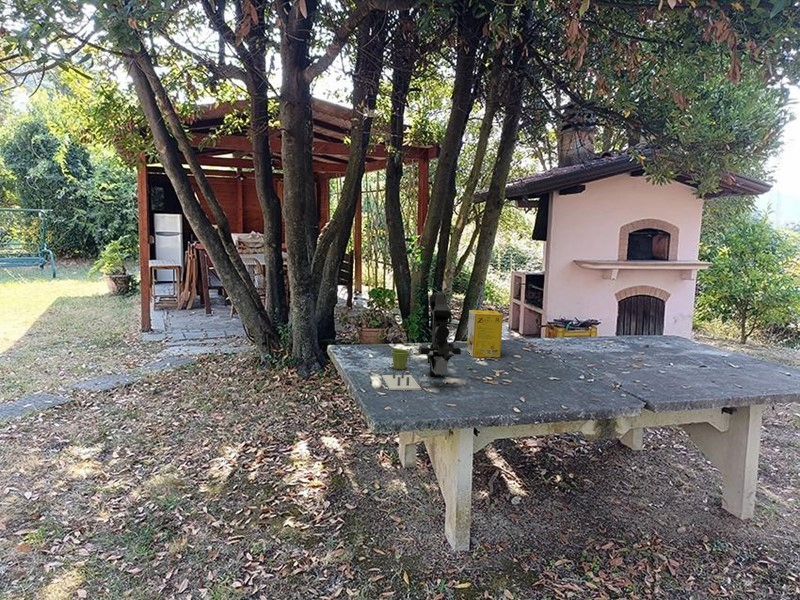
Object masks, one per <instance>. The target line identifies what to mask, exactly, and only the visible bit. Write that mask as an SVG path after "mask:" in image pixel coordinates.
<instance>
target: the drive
mask: <svg viewBox="0 0 800 600" xmlns="http://www.w3.org/2000/svg"><path fill="white" fill-rule="evenodd" d="M431 370H432V371H433V372H434V373H435V374H442V375H447V373H448V371H447V370H448V363H447V361H446V360H445V359H444V358H443V357H434V369H432V366H431Z"/></svg>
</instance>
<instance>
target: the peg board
mask: <svg viewBox="0 0 800 600" xmlns="http://www.w3.org/2000/svg"><path fill="white" fill-rule="evenodd" d="M396 371H397V370H396V369H394V370H392V374H382V375H381V379H382V378H383V379H382V380H383V382H384V381H385V382H384V384H385V383H386V384H385V386H386V387H387V386H388V387H387V389H388V388H389V389H388V390H389V391H390V390H403V392H404V391H405V390H406V391H407V390H412V391H422V387H421V386H420V385H419V383H418V382H417V381H416V380H415V378H414V377H413V376H412V374H405V369H401V374H396Z"/></svg>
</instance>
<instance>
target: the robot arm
mask: <svg viewBox="0 0 800 600" xmlns="http://www.w3.org/2000/svg"><path fill="white" fill-rule="evenodd" d="M447 298H448V297H447V296H446V295H445V293H444V292H433V294H432V295H430V296H429V299H428V306H429V311H430V312H431V313H432V343H431V345H430V346H428V345H419V346H418V349H417V351H418V353H419V354H420V355H426V356H427V357H426V362H427V364H429V372H426V373H427V375H428V376H429V377H431V378H433V377H444V374H435V373H434V372H433V371H432V370H431V366H432V369H434V357H443V358H444V359H445V360H446V361H447V364H448V362H449V361H450V359H451V358H452V357H454V356H455V355H457V356H458V355H462V349H461V348H460V347H459V346H457V345H455V344H454V343H452V342H451V343H448V338H449V337H450V330H449V328H448V325H451V324H452V322H453V318H452V311H451V310H450V308H449V306H447Z"/></svg>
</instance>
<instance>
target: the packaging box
mask: <svg viewBox="0 0 800 600" xmlns="http://www.w3.org/2000/svg"><path fill="white" fill-rule="evenodd" d="M503 318H504V315H503V314H502V313H500V312H499V311H497V310H481V309H480V310H478V309H469V311H468V326H467V338H466V339H467V340H466V341H467V342H466V352H467V351H468V352H469V353H470V354H469V353H468V352H467V353H468V354H469V356H472V357H471V358H483V357H500V358H501V348H502V347H501V346H502V336H503V335H502V332H503V322H504V321H503Z"/></svg>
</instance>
